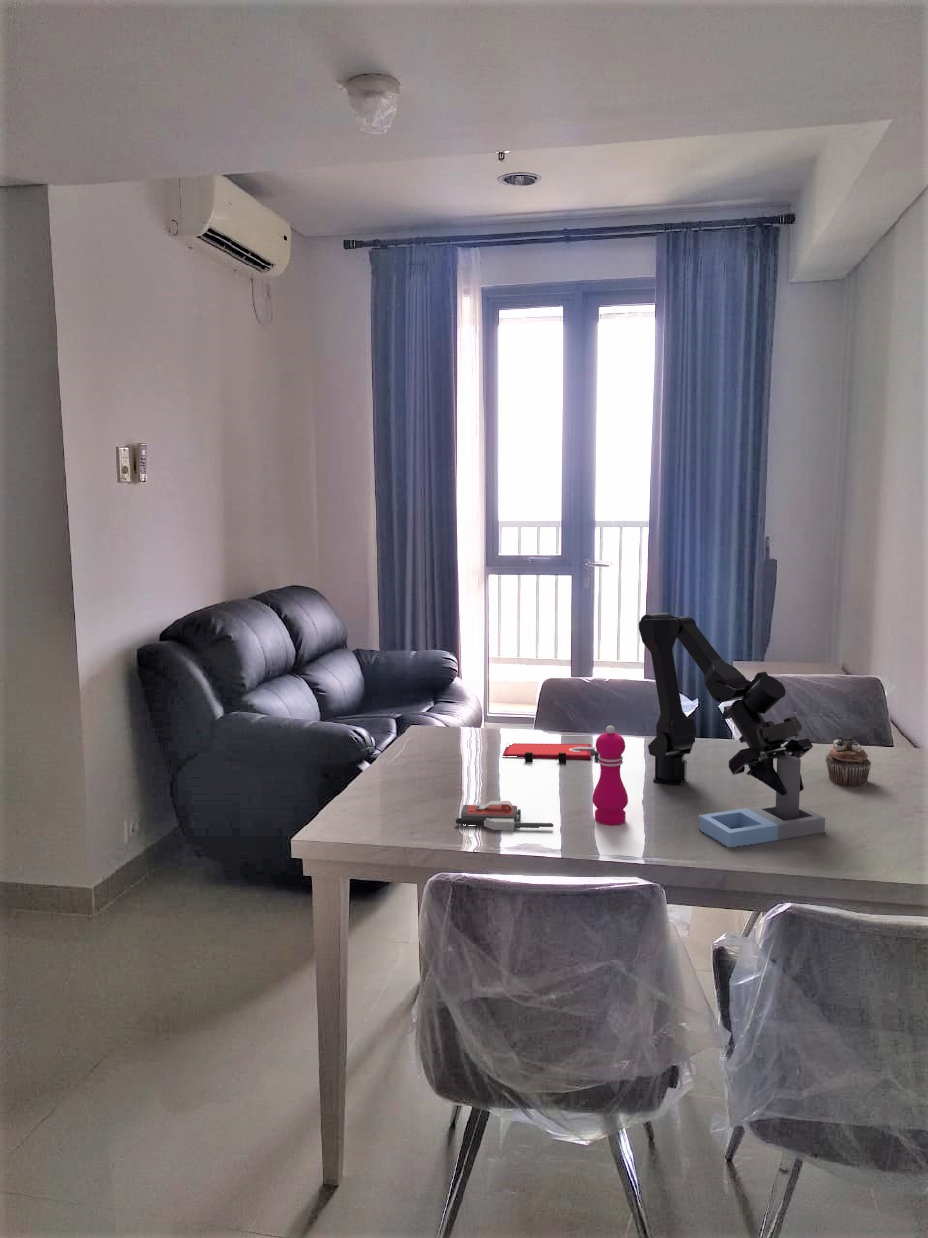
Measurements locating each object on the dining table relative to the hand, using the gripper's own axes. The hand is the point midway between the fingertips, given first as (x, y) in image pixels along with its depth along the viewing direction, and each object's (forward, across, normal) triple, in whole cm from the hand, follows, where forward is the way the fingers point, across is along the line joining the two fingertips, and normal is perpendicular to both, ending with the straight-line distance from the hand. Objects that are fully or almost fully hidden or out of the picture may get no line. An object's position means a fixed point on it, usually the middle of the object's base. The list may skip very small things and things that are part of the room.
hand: (793, 792), depth 171 cm
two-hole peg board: (+4, -6, +7) cm, 10 cm away
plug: (+4, 0, +6) cm, 8 cm away
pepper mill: (-10, -28, +22) cm, 37 cm away
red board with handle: (-41, -10, +53) cm, 67 cm away
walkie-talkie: (-17, -47, +29) cm, 58 cm away
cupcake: (-4, +34, +16) cm, 38 cm away
